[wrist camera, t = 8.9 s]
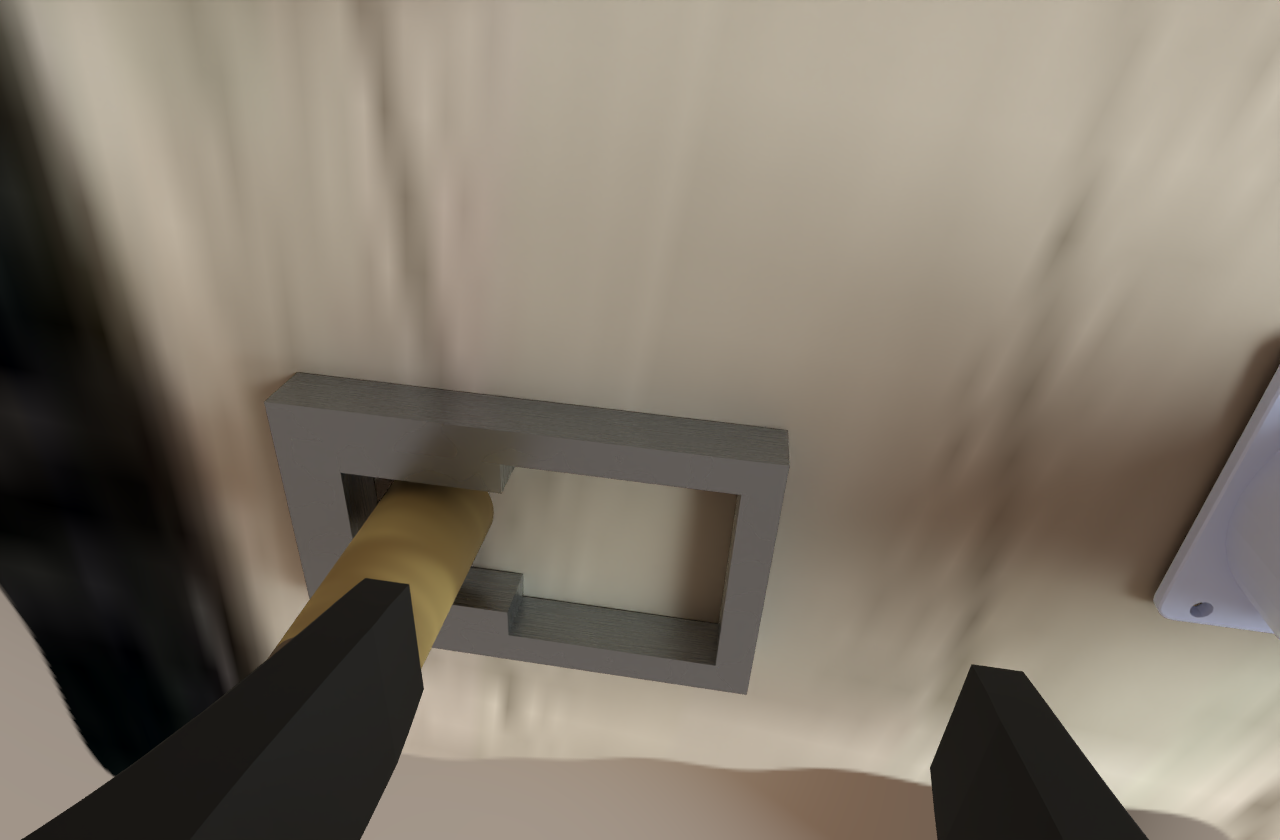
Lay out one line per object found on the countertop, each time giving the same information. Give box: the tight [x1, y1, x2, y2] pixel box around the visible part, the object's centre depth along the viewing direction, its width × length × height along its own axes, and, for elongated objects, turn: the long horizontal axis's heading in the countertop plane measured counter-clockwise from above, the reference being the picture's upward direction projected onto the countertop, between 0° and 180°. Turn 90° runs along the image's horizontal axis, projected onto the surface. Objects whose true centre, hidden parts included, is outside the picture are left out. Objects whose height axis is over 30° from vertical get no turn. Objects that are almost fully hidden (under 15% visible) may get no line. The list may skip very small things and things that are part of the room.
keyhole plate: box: [264, 373, 789, 695], centre depth 21 cm, size 13×8×2 cm, turn 87°
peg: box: [267, 480, 494, 668], centre depth 19 cm, size 3×3×8 cm
